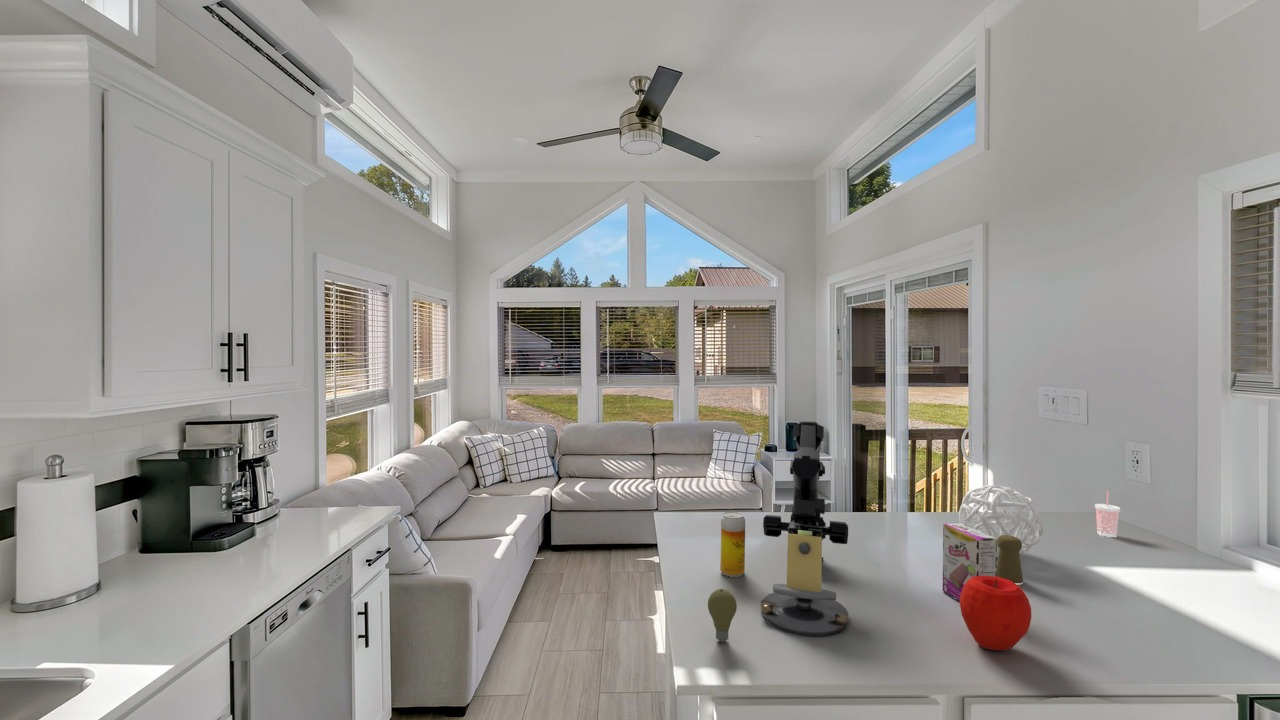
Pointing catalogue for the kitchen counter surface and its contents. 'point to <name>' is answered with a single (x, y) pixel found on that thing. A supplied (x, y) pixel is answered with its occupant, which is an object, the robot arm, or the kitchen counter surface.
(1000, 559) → the brown rounded upright piece
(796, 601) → the base
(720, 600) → the light bulb
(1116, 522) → the beverage cup
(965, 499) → the decorative ball
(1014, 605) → the apple
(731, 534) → the beer can
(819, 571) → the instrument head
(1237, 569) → the kitchen counter surface
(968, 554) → the candy bar box
